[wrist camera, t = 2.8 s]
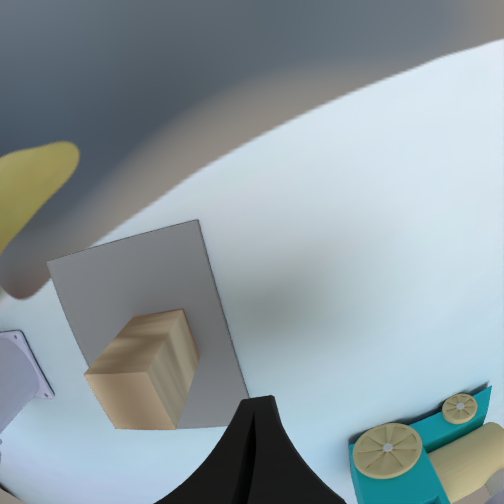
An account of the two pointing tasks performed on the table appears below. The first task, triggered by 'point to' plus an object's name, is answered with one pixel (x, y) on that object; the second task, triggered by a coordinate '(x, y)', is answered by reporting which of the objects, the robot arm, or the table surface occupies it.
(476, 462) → the toy train
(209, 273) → the slate mat
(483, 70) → the table surface
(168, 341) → the maple block
